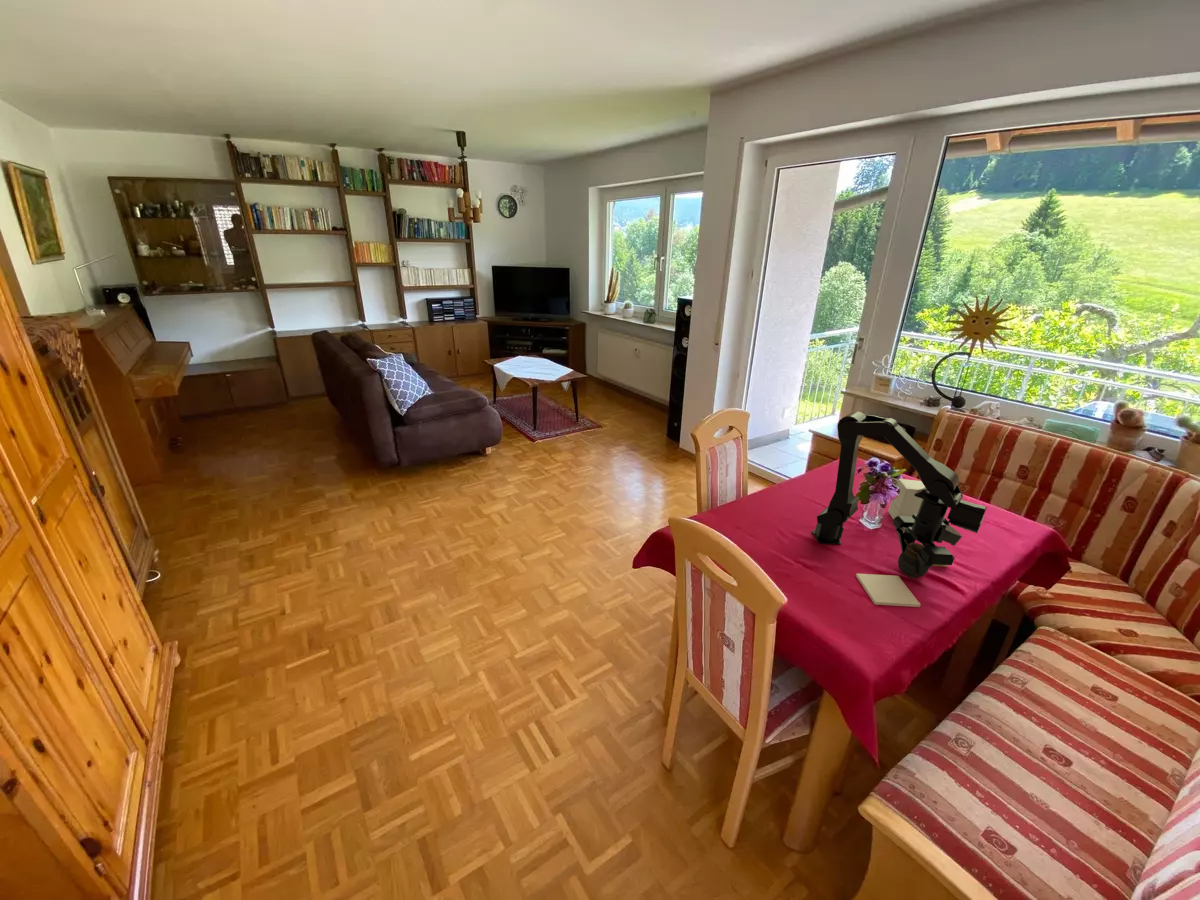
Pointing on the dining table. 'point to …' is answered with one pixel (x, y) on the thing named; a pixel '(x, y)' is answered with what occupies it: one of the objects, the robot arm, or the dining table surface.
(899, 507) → the supplement box
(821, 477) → the dining table surface
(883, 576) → the cream square tile
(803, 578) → the dining table surface
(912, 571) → the mate gourd
